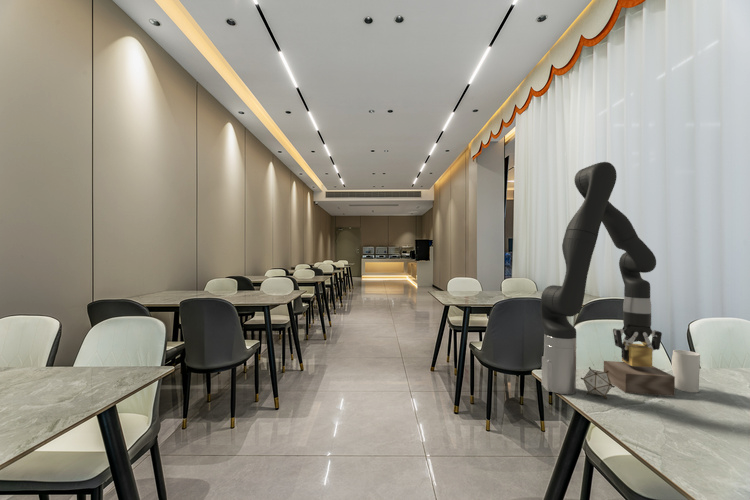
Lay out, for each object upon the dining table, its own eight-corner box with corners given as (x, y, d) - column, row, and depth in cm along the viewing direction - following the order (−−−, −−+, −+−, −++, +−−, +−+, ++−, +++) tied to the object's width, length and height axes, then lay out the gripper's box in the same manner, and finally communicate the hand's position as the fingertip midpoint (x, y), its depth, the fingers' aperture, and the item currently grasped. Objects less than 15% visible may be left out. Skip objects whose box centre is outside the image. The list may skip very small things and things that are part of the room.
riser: (625, 392, 112) (625, 373, 112) (603, 377, 126) (603, 360, 126) (674, 396, 110) (674, 376, 110) (646, 380, 123) (646, 363, 124)
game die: (590, 405, 111) (573, 373, 116) (618, 398, 109) (600, 366, 115) (594, 400, 104) (576, 366, 109) (624, 392, 102) (605, 359, 108)
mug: (705, 394, 112) (705, 356, 112) (681, 392, 113) (681, 354, 113) (683, 382, 122) (683, 347, 122) (661, 381, 123) (661, 346, 123)
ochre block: (632, 366, 115) (632, 347, 115) (622, 360, 121) (622, 343, 121) (652, 367, 114) (652, 348, 114) (641, 361, 120) (641, 344, 120)
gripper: (619, 311, 115) (619, 363, 115) (668, 313, 113) (668, 366, 113) (608, 308, 123) (607, 356, 122) (653, 310, 121) (653, 359, 120)
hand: (636, 361), depth 118 cm, fingers closed on ochre block, 6 cm apart
